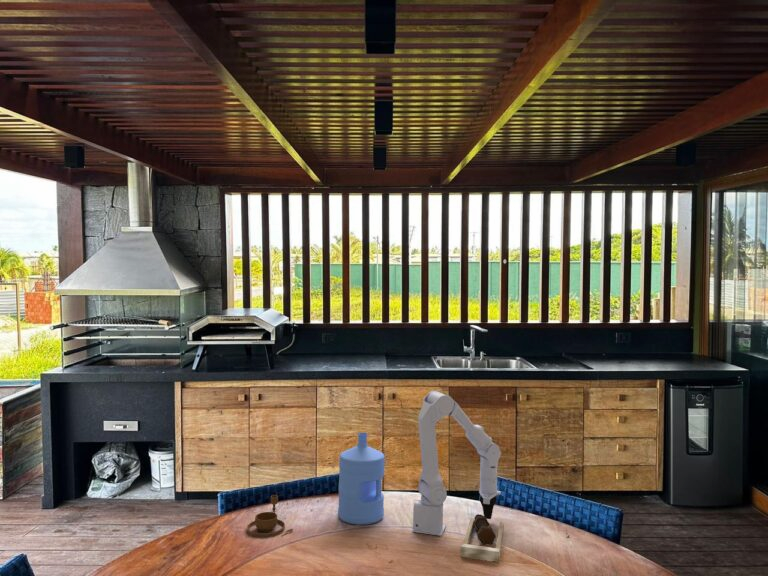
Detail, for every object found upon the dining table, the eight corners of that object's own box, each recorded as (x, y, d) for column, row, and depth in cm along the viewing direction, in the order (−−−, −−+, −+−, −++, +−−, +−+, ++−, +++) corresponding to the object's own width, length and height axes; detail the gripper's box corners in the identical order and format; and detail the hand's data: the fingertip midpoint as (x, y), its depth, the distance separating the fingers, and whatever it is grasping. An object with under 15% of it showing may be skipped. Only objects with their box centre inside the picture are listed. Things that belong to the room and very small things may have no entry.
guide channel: (460, 556, 157) (460, 546, 157) (470, 524, 180) (470, 515, 180) (498, 562, 154) (498, 551, 154) (503, 528, 177) (503, 519, 177)
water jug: (329, 520, 181) (331, 436, 181) (350, 504, 195) (352, 426, 196) (372, 529, 175) (374, 442, 175) (390, 512, 189) (392, 431, 190)
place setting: (231, 532, 172) (231, 513, 172) (272, 510, 190) (272, 493, 190) (275, 544, 164) (275, 524, 164) (313, 521, 182) (313, 503, 182)
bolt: (481, 529, 180) (489, 549, 165) (468, 521, 181) (474, 540, 166) (490, 514, 181) (498, 532, 166) (477, 506, 181) (484, 523, 166)
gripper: (499, 485, 174) (498, 528, 174) (502, 472, 188) (501, 511, 188) (477, 483, 176) (476, 525, 176) (481, 470, 190) (480, 509, 190)
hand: (487, 518), depth 182 cm, fingers closed
